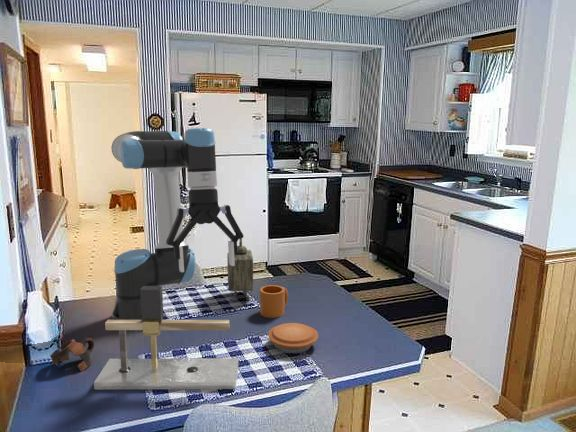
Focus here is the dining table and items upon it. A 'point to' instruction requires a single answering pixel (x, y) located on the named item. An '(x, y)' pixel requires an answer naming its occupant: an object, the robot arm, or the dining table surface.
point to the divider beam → (164, 325)
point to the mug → (273, 301)
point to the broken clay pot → (74, 352)
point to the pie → (293, 337)
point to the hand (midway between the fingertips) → (207, 268)
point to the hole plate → (170, 374)
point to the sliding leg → (152, 316)
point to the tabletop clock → (241, 271)
